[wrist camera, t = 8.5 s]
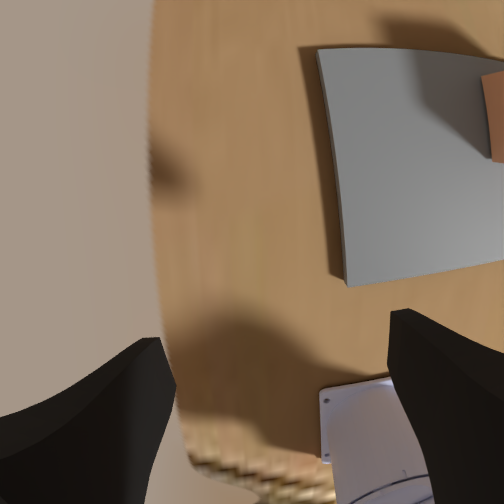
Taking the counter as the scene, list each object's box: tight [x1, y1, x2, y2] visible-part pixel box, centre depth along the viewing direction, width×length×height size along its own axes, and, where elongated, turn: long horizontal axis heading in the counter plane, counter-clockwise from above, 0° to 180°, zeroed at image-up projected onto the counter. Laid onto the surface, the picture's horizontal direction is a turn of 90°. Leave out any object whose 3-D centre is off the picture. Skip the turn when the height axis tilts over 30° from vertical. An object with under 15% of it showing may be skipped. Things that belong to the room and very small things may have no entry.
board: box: [315, 48, 504, 287], centre depth 15 cm, size 13×17×1 cm
